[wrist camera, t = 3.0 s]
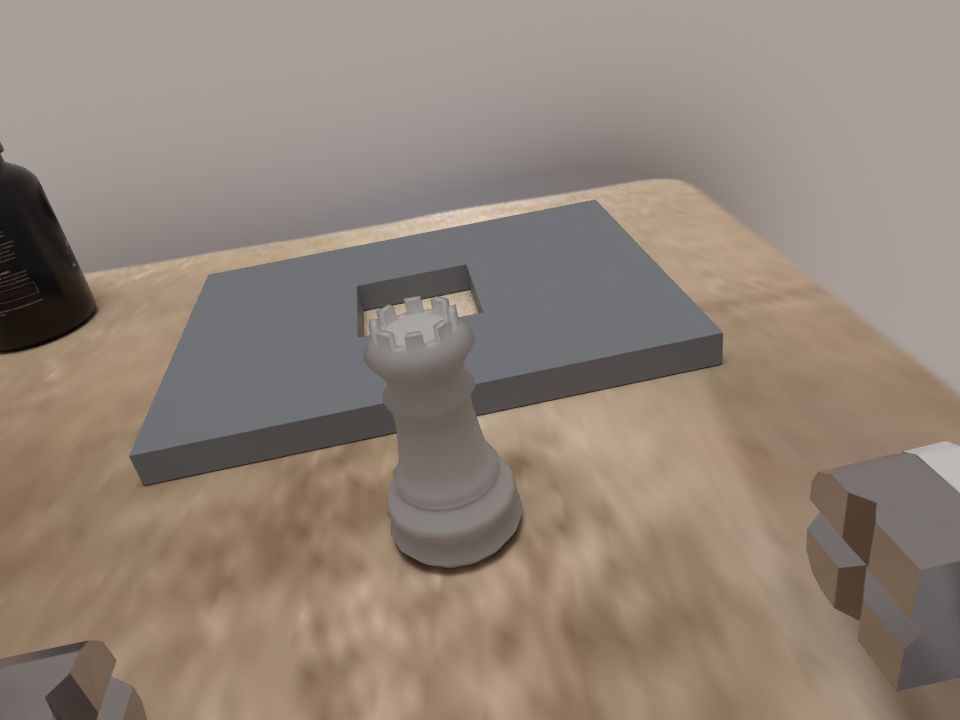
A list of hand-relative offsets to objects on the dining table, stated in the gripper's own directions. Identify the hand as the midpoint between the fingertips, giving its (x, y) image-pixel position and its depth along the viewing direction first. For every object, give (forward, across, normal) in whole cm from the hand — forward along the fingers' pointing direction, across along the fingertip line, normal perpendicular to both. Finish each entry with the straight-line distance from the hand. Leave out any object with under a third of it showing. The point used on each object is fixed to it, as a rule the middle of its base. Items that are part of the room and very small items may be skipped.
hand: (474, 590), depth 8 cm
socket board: (+28, 0, +10) cm, 29 cm away
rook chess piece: (+13, 0, +11) cm, 16 cm away
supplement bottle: (+38, +24, +10) cm, 45 cm away
